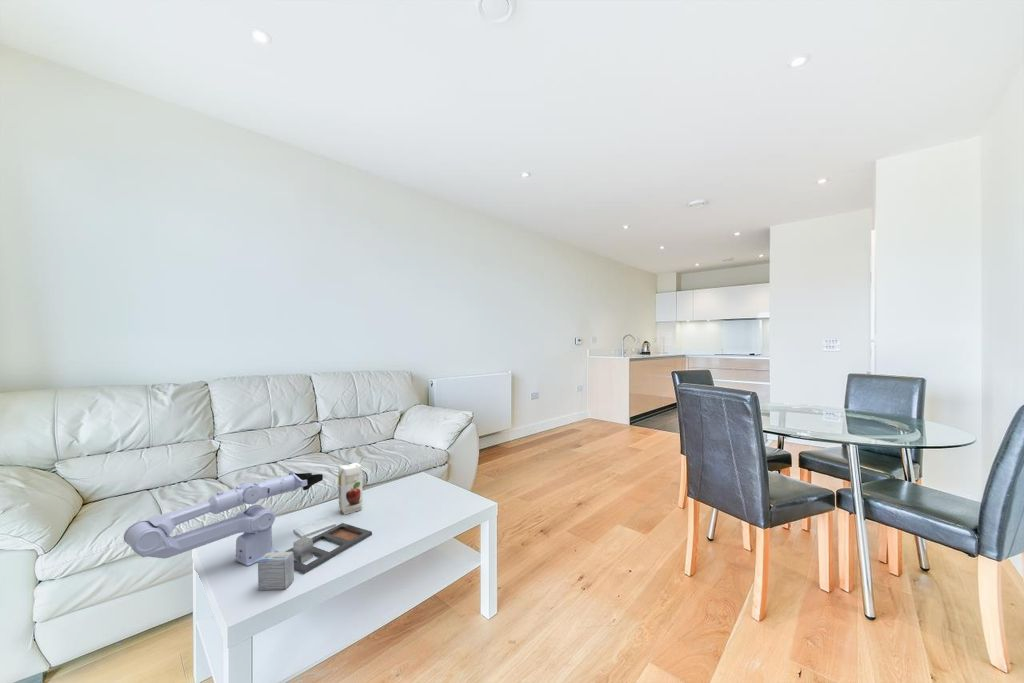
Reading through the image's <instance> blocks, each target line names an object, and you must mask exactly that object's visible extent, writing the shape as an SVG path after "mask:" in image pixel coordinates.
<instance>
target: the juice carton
mask: <svg viewBox="0 0 1024 683" xmlns="http://www.w3.org/2000/svg"><path fill="white" fill-rule="evenodd" d="M337 477H338V479H337V480H338V482H337V483H338V507H339V509H340V512H341V511H342V512H343V513H344V514H345V515H344V514H343V513H342V512H341V513H342V514H343V515H344V516H346V514H347V515H350V514H352V512H353V513H357V512H360V511H362V509H363V503H364V502H363V501H364V500H363V494H364V493H363V469H362V465H361V464H360V463H358V462H353V463H349V464H344V465H343V464H342V465H339V467H338V474H337ZM359 510H360V511H359ZM356 511H357V512H356ZM349 513H350V514H349Z"/></svg>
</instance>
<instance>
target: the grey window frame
mask: <svg viewBox="0 0 1024 683" xmlns="http://www.w3.org/2000/svg"><path fill="white" fill-rule="evenodd" d="M372 535H373V531H372V530H367V529H364V528H361V527H358V526H354V525H351V524H348V523H344V522H341V523H340V524H336V526H335V527H332V528H329V529H326V530H324V531H322V532H320V533H319V534H317V535H316V536H313V537H310V539H313V556H315V557H318V558H316V559H314V560H313V561H311V562H308V563H307V564H305V563H300V562H298V561H295V560H294V571H296V572H298V573H300V574H304V575H305V574H306V573H308V572H309V571H312V570H314V569H316V568H317V567H319V566H320V565H322V564H324V563H326V562H327V561H329V560H331V559H332V558H335V557H336V556H339V555H340V554H341V553H343V552H345V551H347V550H348V549H350V548H351V547H353V546H356V545H357V544H359V543H360V542H362V541H364V540H365V539H367V538H369V537H370V536H372ZM322 540H323V541H326V542H329V543H332V544H335V545H338V546H337V547H336V548H334V549H332V550H331V551H328V550H324V549H323V548H319V547H317V546H314V544H316V543H317V542H320V541H322ZM284 552H293V555H294V549H293V547H292V548H289V549H287V550H285V551H284Z"/></svg>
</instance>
